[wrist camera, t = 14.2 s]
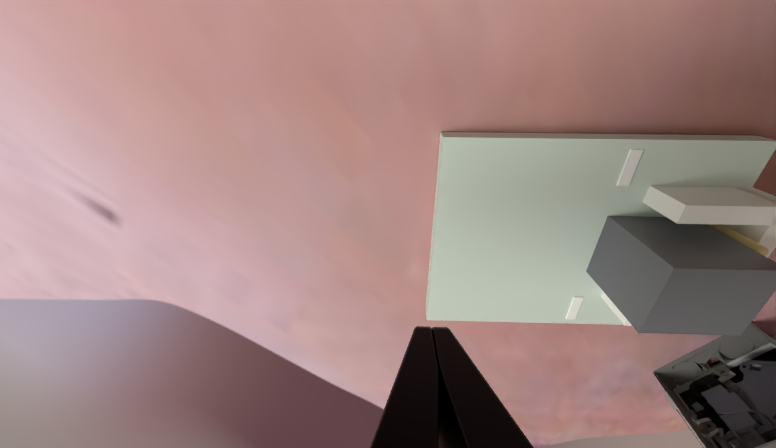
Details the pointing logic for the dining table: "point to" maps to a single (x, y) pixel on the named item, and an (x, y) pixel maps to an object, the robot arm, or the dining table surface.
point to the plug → (680, 276)
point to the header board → (575, 214)
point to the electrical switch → (727, 390)
